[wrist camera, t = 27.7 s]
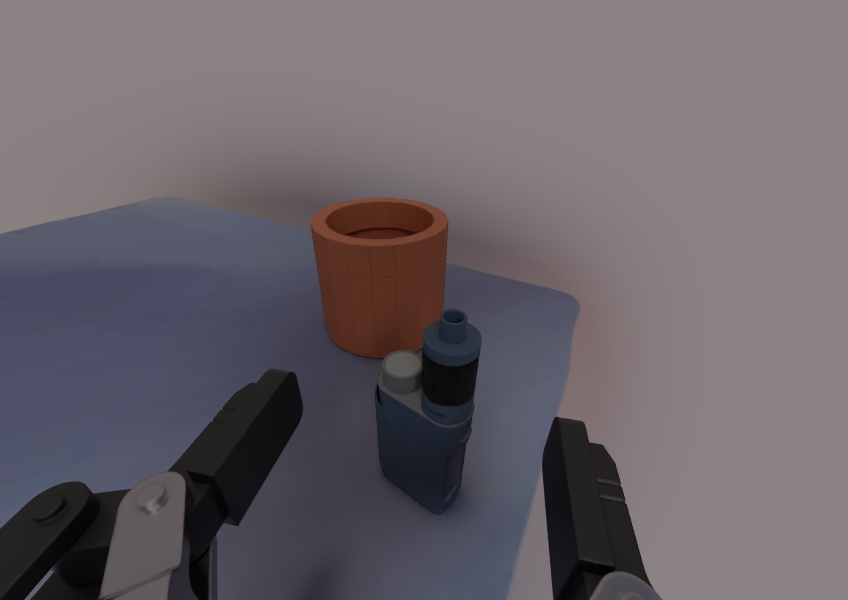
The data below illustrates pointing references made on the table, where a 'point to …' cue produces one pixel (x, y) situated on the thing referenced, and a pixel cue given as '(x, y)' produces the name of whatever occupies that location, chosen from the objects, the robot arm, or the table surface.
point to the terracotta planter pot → (380, 272)
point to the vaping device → (429, 410)
